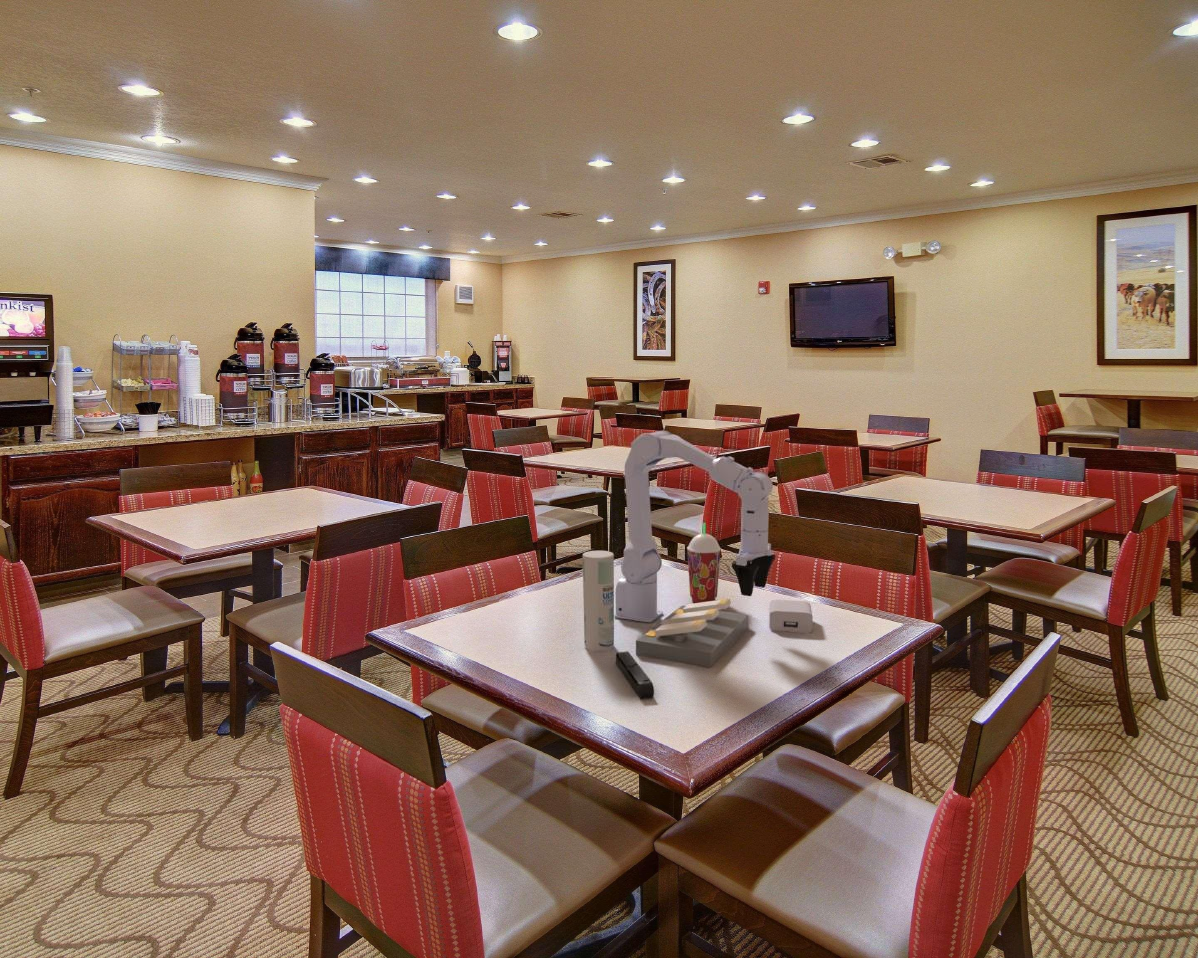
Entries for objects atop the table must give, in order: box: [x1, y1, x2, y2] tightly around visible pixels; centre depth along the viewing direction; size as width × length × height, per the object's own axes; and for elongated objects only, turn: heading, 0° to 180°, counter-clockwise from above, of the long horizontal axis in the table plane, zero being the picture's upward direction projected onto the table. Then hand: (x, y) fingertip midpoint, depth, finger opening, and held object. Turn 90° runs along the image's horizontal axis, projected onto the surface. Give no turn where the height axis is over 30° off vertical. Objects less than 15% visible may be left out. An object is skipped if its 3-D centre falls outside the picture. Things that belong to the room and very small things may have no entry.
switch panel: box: [635, 605, 750, 668], centre depth 162 cm, size 16×26×4 cm, turn 153°
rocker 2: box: [669, 609, 720, 624], centre depth 162 cm, size 10×4×1 cm, turn 62°
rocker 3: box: [683, 598, 732, 613], centre depth 169 cm, size 10×4×1 cm, turn 62°
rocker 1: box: [655, 619, 707, 636], centre depth 155 cm, size 10×4×1 cm, turn 62°
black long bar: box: [615, 650, 655, 700], centre depth 142 cm, size 18×3×3 cm, turn 14°
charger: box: [768, 599, 814, 633], centre depth 175 cm, size 5×9×15 cm
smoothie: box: [686, 522, 722, 603], centre depth 190 cm, size 8×8×20 cm
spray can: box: [582, 550, 615, 652], centre depth 159 cm, size 6×6×20 cm
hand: (753, 590), depth 164 cm, fingers open, 7 cm apart
